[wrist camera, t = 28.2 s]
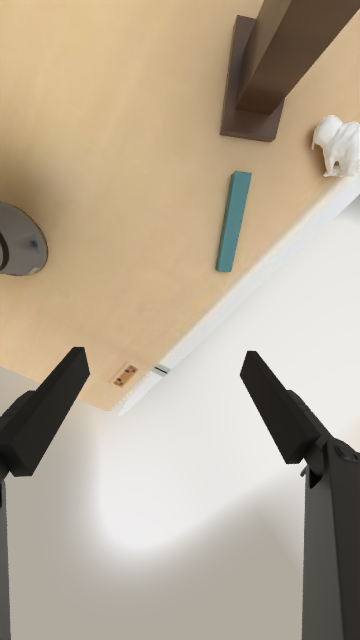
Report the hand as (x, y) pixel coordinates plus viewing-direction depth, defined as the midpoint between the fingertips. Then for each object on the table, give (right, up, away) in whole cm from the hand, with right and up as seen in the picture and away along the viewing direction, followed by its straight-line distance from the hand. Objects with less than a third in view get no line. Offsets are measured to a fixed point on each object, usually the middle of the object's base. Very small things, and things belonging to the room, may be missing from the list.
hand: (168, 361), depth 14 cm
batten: (+13, +26, +27) cm, 40 cm away
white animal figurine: (+32, +40, +22) cm, 55 cm away
